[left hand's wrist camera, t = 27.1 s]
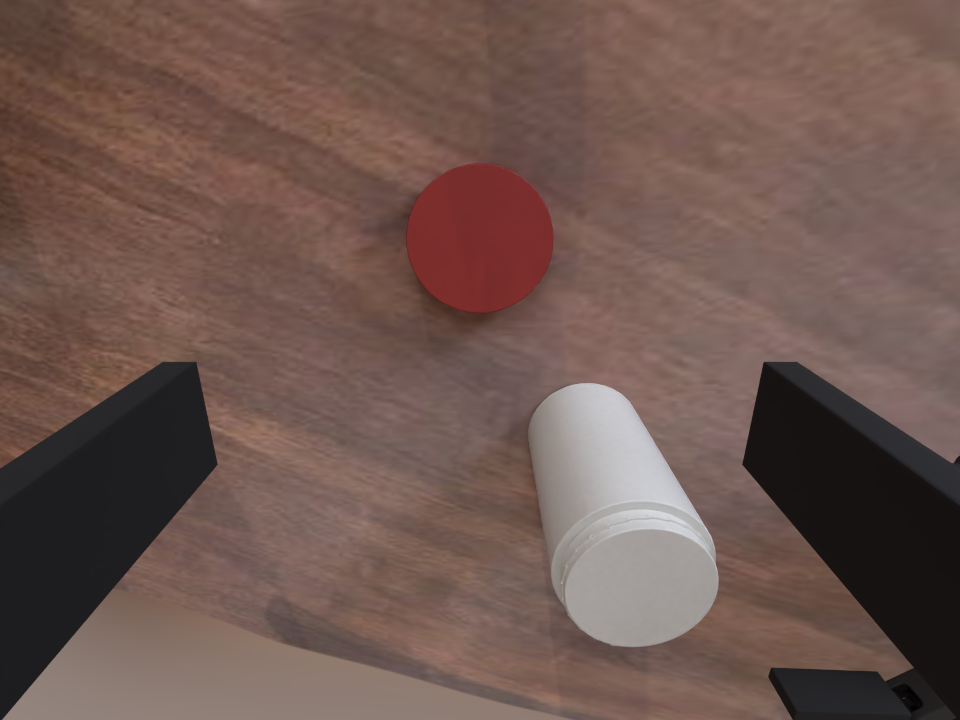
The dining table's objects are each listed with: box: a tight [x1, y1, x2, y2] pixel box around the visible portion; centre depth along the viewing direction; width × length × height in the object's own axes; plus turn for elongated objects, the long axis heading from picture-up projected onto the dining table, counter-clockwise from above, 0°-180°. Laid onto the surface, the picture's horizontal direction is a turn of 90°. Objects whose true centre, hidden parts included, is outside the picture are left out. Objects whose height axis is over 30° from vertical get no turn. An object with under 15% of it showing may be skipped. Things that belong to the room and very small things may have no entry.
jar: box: [528, 383, 718, 647], centre depth 37 cm, size 9×9×17 cm
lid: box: [406, 164, 553, 313], centre depth 38 cm, size 10×10×2 cm
